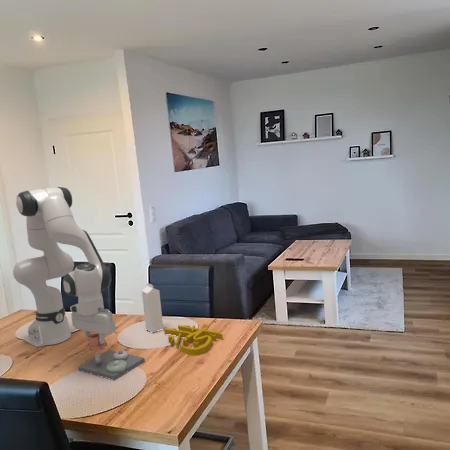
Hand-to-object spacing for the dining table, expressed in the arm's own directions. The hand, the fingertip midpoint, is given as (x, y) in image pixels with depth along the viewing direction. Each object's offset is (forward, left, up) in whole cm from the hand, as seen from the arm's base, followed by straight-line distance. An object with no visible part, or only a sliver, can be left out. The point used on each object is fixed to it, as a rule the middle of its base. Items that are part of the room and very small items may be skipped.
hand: (95, 342), depth 163 cm
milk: (-5, +38, -11) cm, 40 cm away
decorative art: (+17, +34, -11) cm, 39 cm away
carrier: (+4, +3, -10) cm, 11 cm away
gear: (0, 0, -2) cm, 2 cm away
